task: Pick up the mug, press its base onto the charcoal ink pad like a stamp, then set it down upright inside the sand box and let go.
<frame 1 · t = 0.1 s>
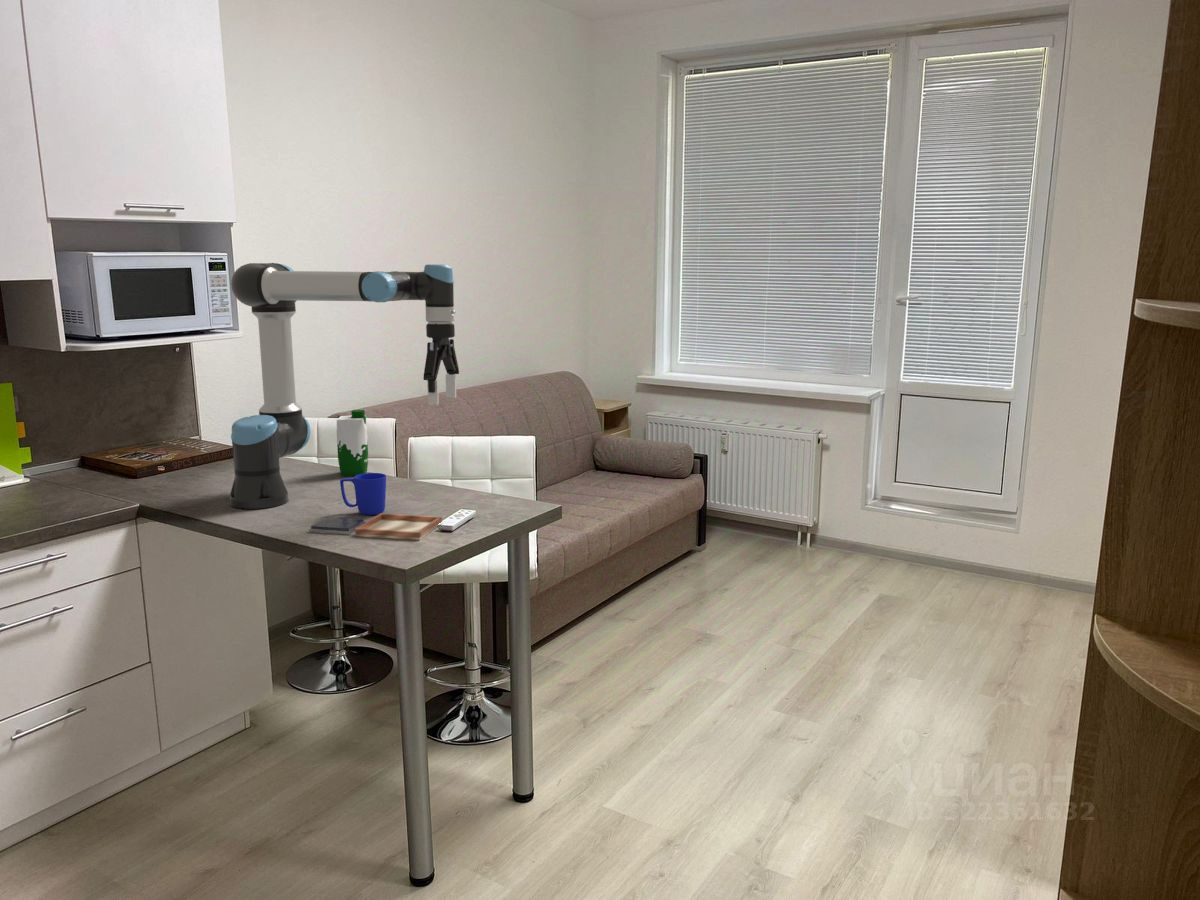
hand: (442, 401, 249), 28 cm above the worktop, fingers open, 13 cm apart
sand box: (399, 529, 226), on the worktop
ink pad: (337, 528, 227), on the worktop
milk carton: (354, 474, 287), on the worktop
mug: (364, 513, 241), on the worktop
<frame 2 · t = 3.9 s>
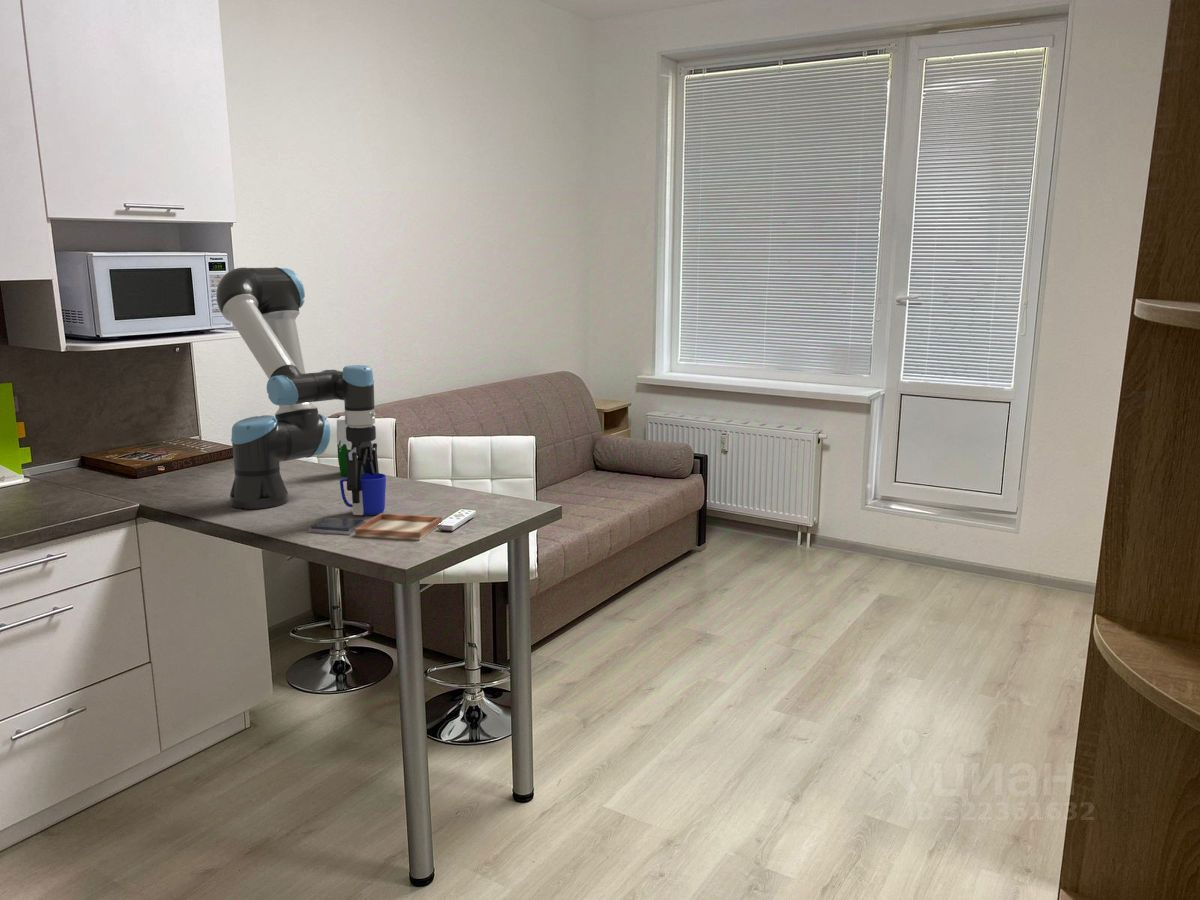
hand: (364, 510, 241), 1 cm above the worktop, fingers closed on mug, 7 cm apart
mug: (364, 513, 241), on the worktop, touching gripper
everything else where it was.
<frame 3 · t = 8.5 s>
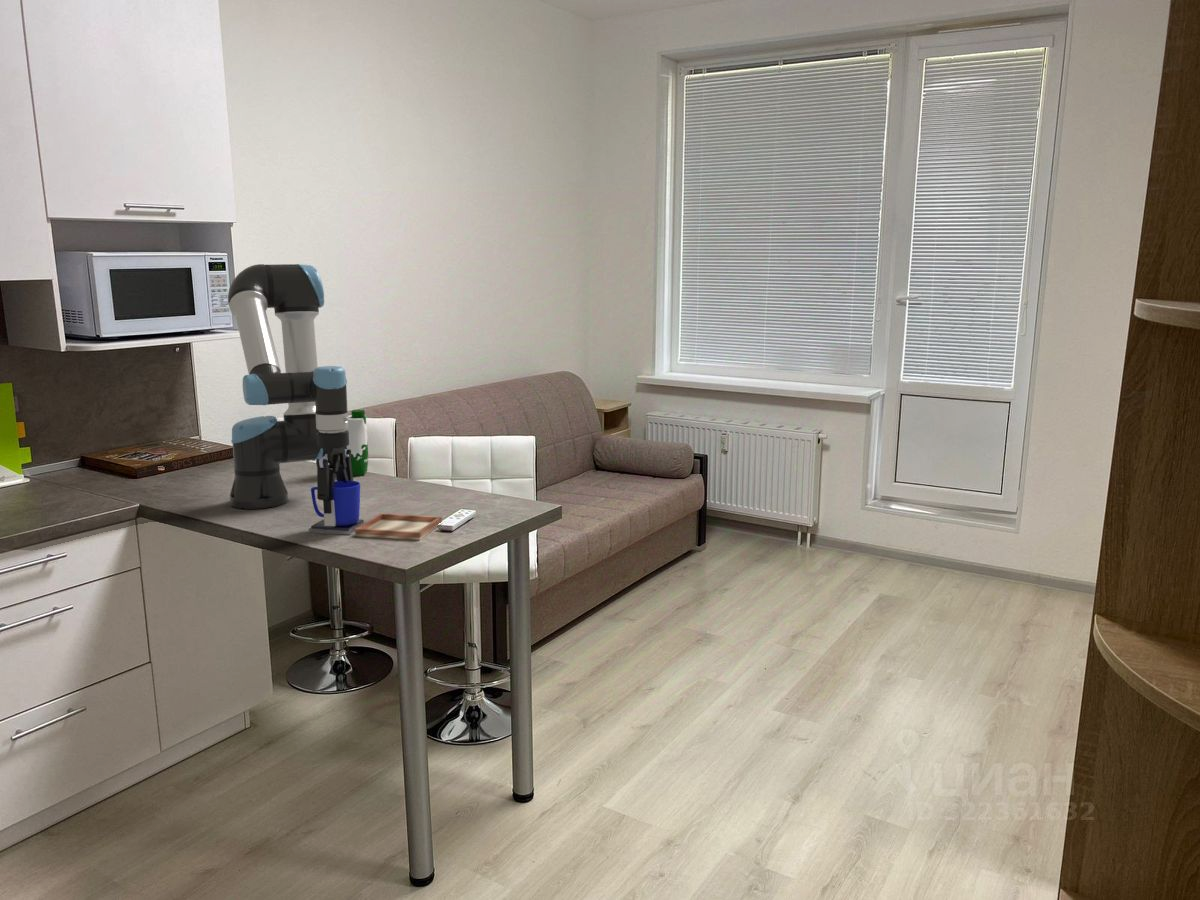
hand: (337, 521, 226), 2 cm above the worktop, fingers closed on mug, 7 cm apart
mug: (337, 524, 226), point 1 cm above the worktop, touching gripper, ink pad
everything else where it was.
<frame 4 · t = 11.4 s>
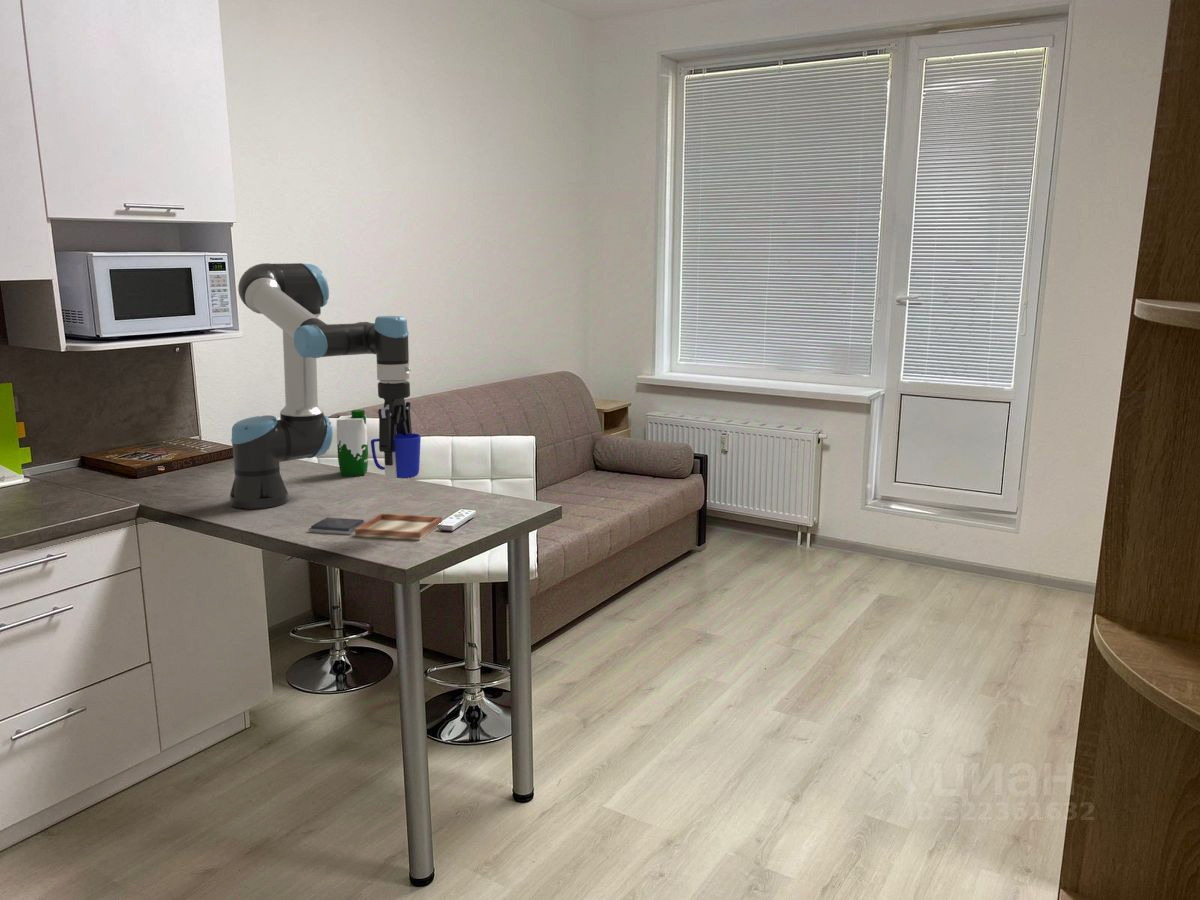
hand: (397, 474, 223), 14 cm above the worktop, fingers closed on mug, 7 cm apart
mug: (397, 476, 223), point 13 cm above the worktop, touching gripper
everything else where it was.
when the fingers open (3 cm above the worktop, at t = 13.6 s): mug drops 2 cm, resting on sand box.
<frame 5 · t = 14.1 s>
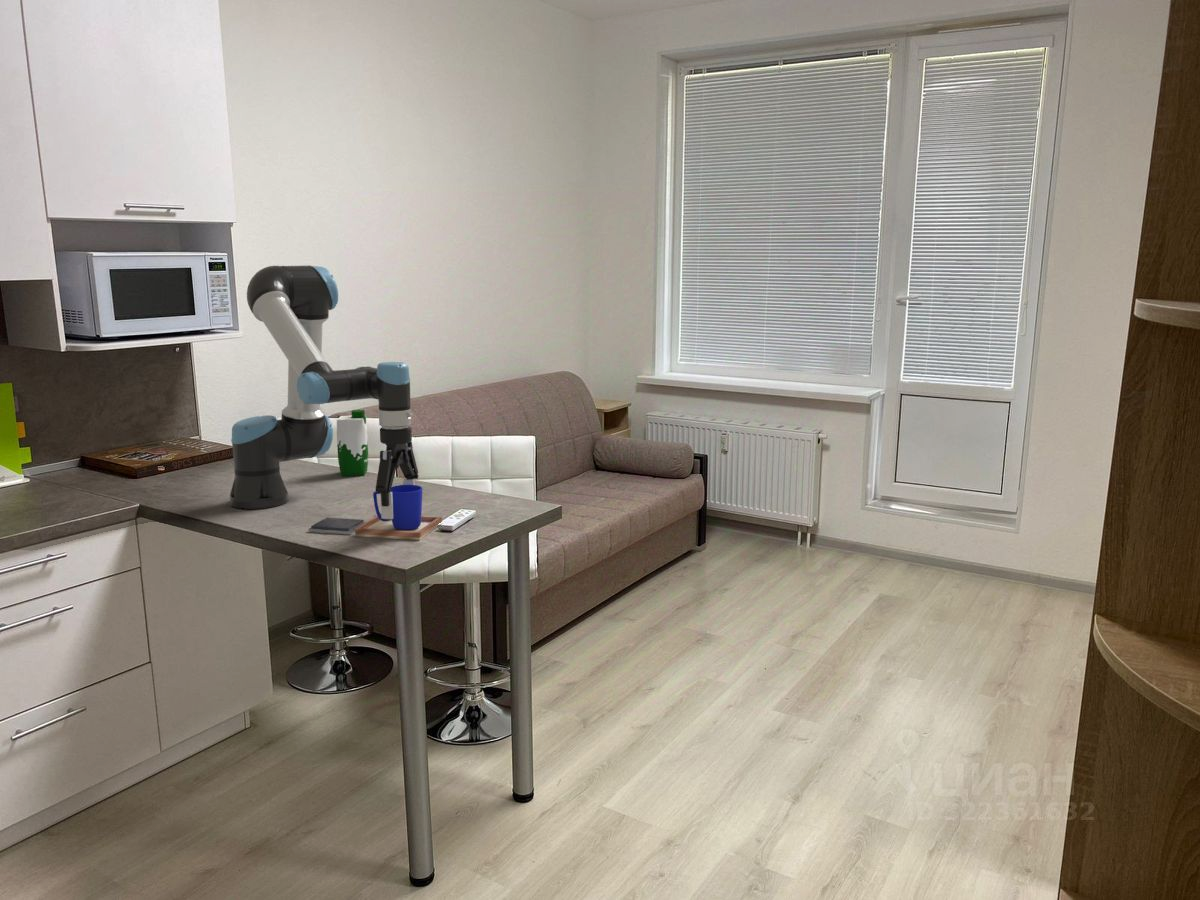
hand: (398, 511, 225), 5 cm above the worktop, fingers open, 13 cm apart
mug: (399, 528, 225), resting on sand box
everything else where it was.
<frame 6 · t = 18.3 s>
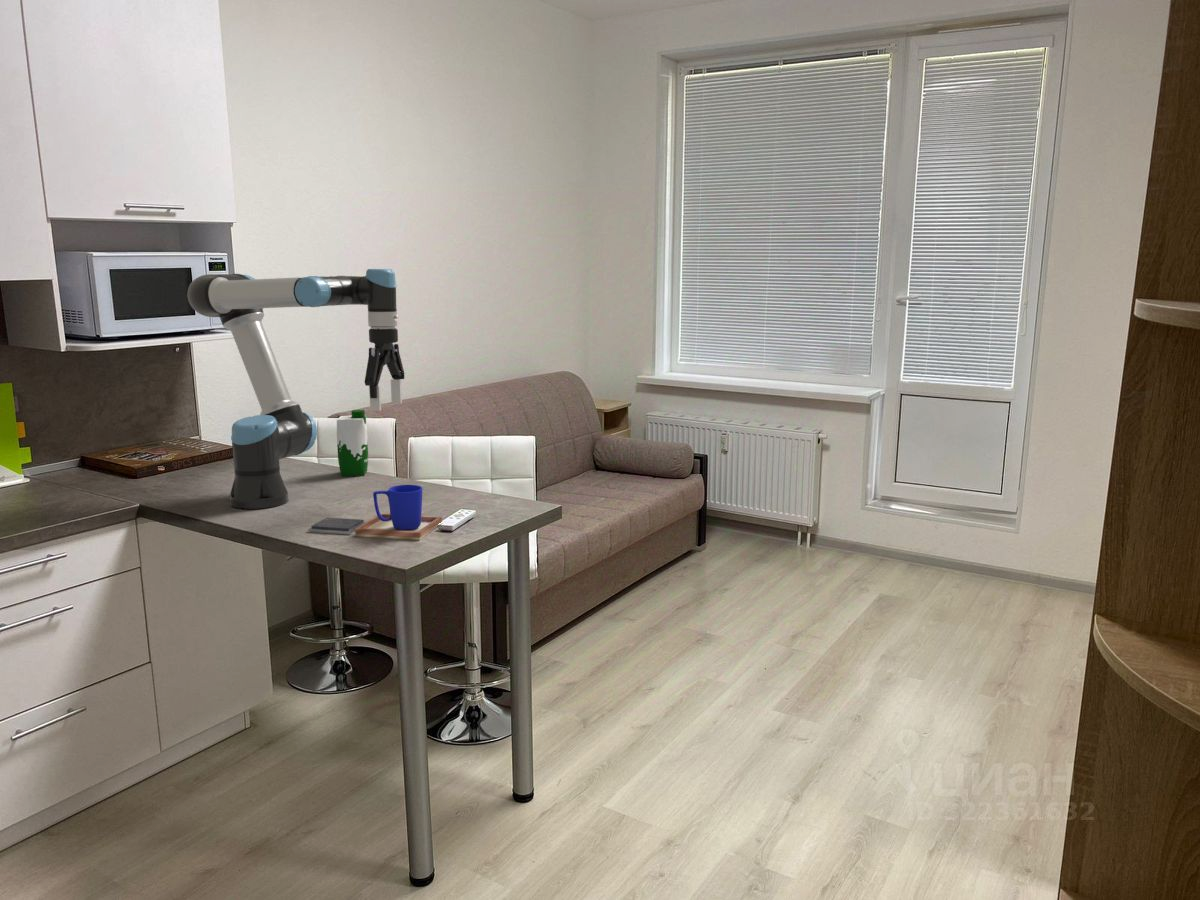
hand: (386, 406, 247), 27 cm above the worktop, fingers open, 13 cm apart
nothing on the worktop moved.
at the end: mug inside the target area on the sand box (0.2 cm from its centre), point 0.4 cm above the sand box's base; mug tilted 0°; the gripper is holding nothing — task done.
